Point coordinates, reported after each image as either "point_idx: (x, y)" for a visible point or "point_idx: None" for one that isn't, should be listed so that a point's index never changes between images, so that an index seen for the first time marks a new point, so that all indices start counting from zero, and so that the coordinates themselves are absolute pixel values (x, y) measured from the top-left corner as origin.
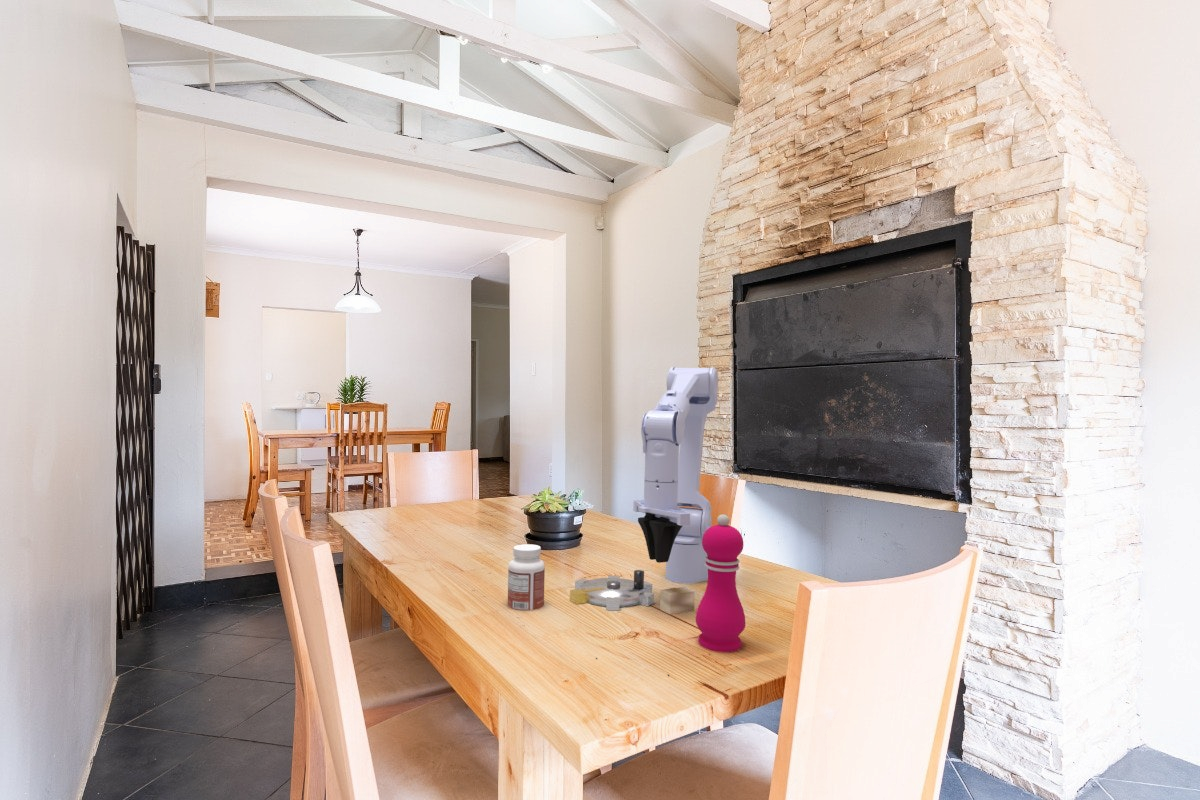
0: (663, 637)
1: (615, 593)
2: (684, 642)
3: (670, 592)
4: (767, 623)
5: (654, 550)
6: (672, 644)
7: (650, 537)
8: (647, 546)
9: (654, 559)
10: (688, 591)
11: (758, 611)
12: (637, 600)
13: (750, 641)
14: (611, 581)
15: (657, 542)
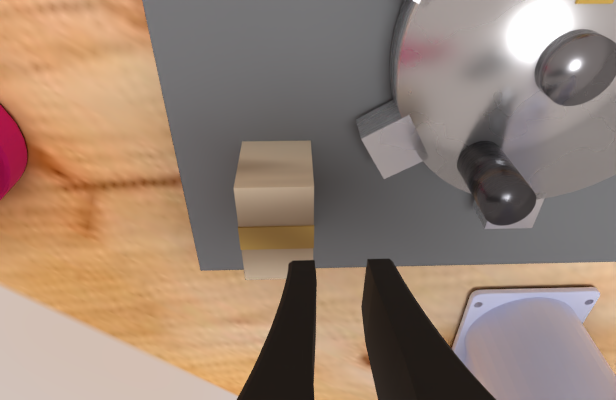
0: (95, 21)
1: (483, 18)
2: (33, 67)
3: (263, 204)
4: (158, 332)
5: (375, 319)
6: (13, 12)
7: (406, 389)
8: (417, 313)
9: (366, 273)
10: (252, 263)
11: (243, 356)
12: (395, 96)
13: (31, 243)
14: (605, 72)
15: (259, 370)
